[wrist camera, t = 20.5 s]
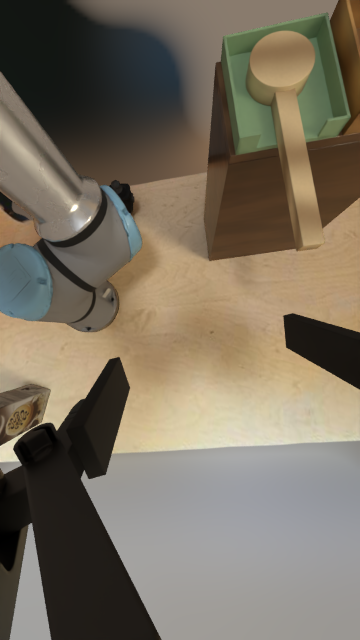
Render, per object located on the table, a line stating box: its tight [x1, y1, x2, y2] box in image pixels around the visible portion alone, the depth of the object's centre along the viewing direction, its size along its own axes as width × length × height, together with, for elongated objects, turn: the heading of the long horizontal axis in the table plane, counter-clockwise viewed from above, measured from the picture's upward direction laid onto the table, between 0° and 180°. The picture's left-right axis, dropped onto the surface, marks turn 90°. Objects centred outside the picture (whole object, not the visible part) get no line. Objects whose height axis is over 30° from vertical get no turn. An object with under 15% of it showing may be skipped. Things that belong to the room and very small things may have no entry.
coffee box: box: [0, 384, 50, 446], centre depth 42 cm, size 9×6×16 cm
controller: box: [109, 180, 134, 214], centre depth 47 cm, size 4×12×10 cm, turn 93°
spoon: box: [245, 31, 325, 251], centre depth 19 cm, size 23×6×2 cm, turn 7°
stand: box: [204, 62, 360, 261], centre depth 35 cm, size 12×23×29 cm, turn 97°
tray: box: [221, 13, 351, 155], centre depth 20 cm, size 12×11×2 cm
